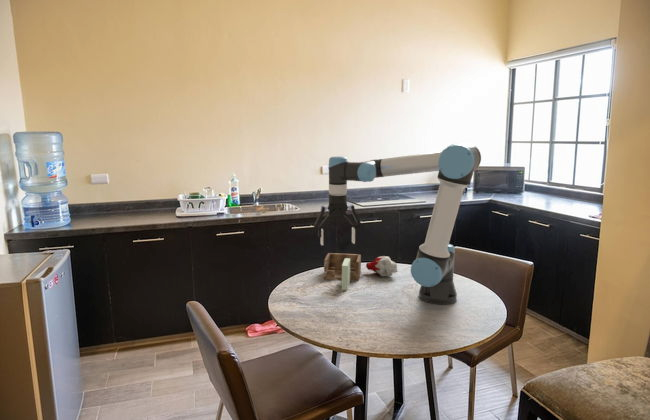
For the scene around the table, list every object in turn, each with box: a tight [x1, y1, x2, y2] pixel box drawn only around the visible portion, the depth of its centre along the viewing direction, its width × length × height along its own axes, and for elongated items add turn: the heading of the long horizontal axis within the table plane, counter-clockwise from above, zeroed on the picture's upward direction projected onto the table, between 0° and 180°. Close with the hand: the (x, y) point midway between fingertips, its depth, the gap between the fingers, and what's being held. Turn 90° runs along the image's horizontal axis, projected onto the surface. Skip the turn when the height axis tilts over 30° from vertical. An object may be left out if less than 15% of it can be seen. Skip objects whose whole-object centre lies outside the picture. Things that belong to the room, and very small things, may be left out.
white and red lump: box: [365, 255, 398, 277], centre depth 213 cm, size 9×11×15 cm
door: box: [341, 258, 351, 291], centre depth 197 cm, size 11×2×11 cm, turn 171°
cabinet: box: [323, 252, 362, 282], centre depth 210 cm, size 16×13×9 cm
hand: (337, 243), depth 188 cm, fingers open, 13 cm apart
